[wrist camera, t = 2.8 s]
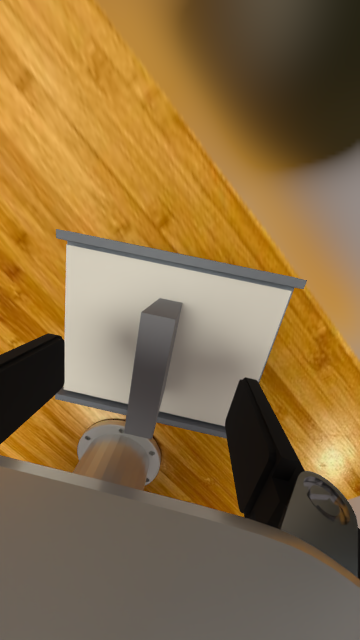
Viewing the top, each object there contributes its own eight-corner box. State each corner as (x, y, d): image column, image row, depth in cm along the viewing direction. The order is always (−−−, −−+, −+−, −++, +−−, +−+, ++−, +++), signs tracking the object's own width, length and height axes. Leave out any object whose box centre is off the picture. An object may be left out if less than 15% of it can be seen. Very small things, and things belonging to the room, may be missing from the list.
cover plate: (238, 422, 17) (258, 494, 12) (69, 384, 18) (11, 436, 12) (286, 290, 14) (348, 302, 8) (73, 245, 14) (-6, 229, 9)
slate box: (229, 392, 23) (243, 443, 16) (96, 362, 24) (55, 399, 17) (267, 276, 19) (307, 278, 12) (105, 242, 20) (56, 227, 13)
